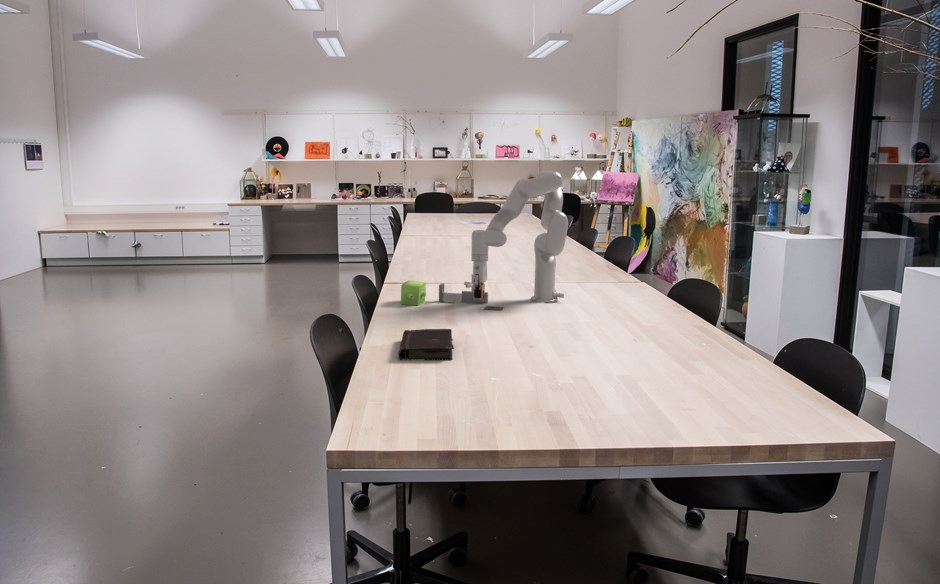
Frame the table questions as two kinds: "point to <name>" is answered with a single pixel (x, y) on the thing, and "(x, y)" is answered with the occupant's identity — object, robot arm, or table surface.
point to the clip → (481, 292)
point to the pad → (493, 308)
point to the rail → (465, 296)
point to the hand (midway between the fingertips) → (479, 296)
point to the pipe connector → (470, 284)
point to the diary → (427, 344)
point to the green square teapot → (413, 293)
